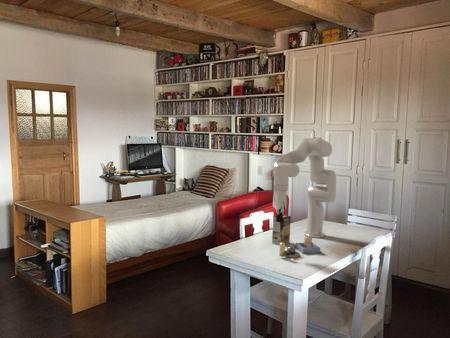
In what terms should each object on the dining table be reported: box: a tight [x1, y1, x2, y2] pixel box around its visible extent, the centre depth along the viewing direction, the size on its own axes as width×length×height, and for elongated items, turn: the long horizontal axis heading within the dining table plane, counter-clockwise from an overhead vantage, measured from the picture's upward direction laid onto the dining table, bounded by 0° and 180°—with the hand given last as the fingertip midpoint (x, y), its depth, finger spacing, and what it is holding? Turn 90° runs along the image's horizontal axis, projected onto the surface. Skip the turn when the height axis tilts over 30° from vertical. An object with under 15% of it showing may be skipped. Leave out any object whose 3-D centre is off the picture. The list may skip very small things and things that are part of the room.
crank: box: [279, 242, 297, 257], centre depth 203 cm, size 11×4×7 cm, turn 131°
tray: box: [295, 241, 321, 255], centre depth 214 cm, size 10×10×3 cm
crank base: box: [284, 251, 301, 261], centre depth 205 cm, size 12×9×1 cm
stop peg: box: [303, 235, 313, 248], centre depth 214 cm, size 4×4×7 cm
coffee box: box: [271, 214, 292, 246], centre depth 227 cm, size 9×6×16 cm
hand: (279, 221), depth 205 cm, fingers closed
